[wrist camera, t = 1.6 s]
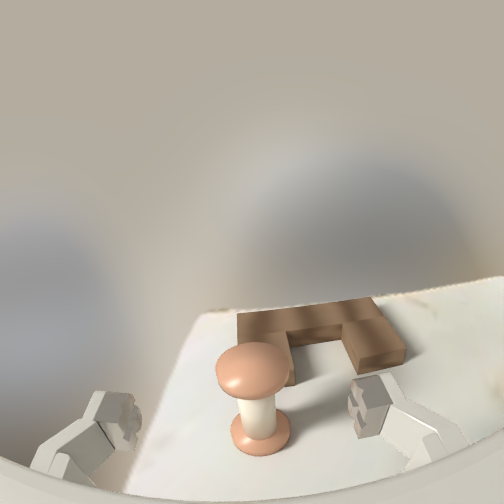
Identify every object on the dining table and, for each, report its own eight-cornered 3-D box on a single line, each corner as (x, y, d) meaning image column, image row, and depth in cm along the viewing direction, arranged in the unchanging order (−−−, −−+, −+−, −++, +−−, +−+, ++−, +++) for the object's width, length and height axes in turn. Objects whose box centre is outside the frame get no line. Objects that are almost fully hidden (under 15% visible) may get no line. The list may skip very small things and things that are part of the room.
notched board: (368, 311, 50) (370, 296, 49) (402, 364, 37) (406, 347, 36) (239, 328, 49) (237, 313, 48) (241, 391, 36) (238, 375, 35)
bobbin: (286, 409, 33) (283, 338, 29) (293, 452, 27) (293, 386, 23) (231, 414, 33) (216, 345, 29) (232, 458, 27) (214, 393, 23)
